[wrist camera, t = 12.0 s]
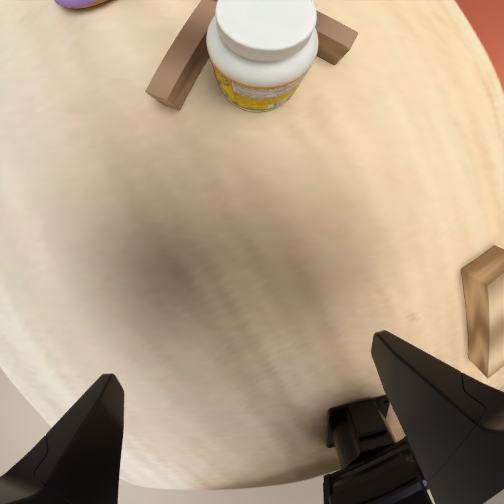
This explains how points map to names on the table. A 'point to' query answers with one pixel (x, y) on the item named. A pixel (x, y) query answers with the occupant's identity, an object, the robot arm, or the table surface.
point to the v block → (196, 53)
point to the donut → (78, 3)
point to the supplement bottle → (262, 49)
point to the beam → (485, 310)
